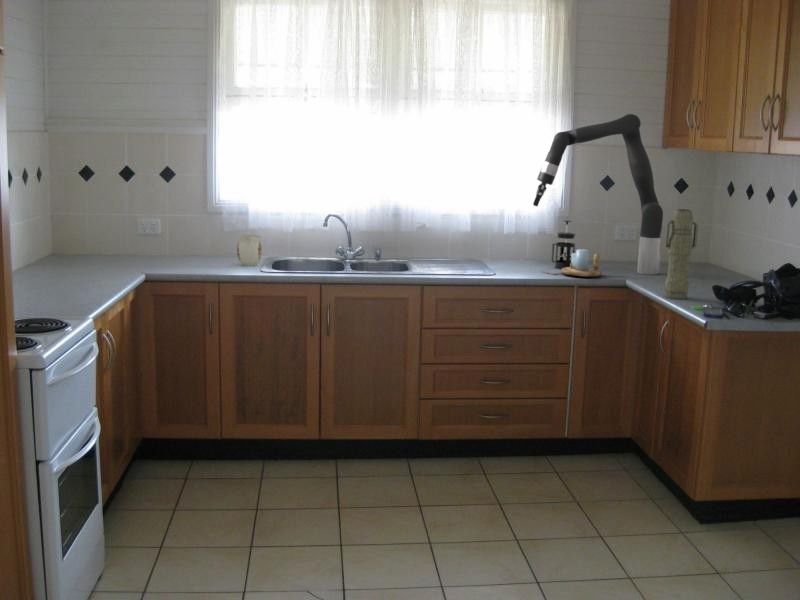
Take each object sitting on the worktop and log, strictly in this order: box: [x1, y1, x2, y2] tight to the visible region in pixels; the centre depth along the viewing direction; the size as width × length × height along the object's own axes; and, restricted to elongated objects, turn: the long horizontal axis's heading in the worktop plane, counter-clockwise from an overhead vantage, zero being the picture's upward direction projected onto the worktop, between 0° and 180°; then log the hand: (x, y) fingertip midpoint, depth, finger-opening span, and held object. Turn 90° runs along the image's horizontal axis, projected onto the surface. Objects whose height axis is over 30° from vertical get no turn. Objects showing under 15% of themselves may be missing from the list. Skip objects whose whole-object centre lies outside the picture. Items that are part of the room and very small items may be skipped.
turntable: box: [561, 253, 603, 277], centre depth 397 cm, size 18×18×8 cm
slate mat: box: [540, 269, 565, 276], centre depth 404 cm, size 10×10×1 cm
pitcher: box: [236, 234, 262, 267], centre depth 398 cm, size 11×18×14 cm, turn 7°
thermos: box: [664, 208, 699, 300], centre depth 345 cm, size 9×12×35 cm
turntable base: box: [571, 275, 592, 278], centre depth 398 cm, size 9×9×1 cm
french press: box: [551, 219, 577, 270], centre depth 418 cm, size 12×9×23 cm
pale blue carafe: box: [570, 248, 589, 271], centre depth 398 cm, size 10×6×9 cm, turn 26°
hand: (535, 205), depth 414 cm, fingers open, 8 cm apart
